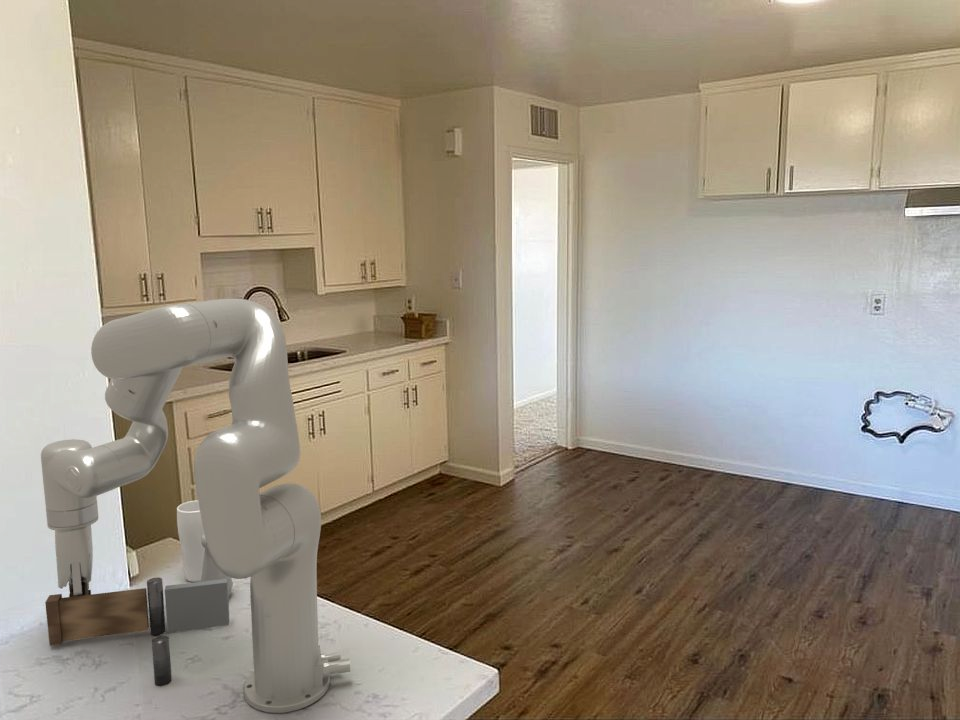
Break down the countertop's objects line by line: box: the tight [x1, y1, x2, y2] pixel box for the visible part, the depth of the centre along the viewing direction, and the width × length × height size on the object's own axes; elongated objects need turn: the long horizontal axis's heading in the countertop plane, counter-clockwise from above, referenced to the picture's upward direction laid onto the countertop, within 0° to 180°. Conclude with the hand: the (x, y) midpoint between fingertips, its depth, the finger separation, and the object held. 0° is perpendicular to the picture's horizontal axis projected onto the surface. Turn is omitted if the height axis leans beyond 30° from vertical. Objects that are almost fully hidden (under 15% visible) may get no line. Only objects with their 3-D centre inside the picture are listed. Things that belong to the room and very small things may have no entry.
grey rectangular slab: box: [164, 579, 230, 634], centre depth 126 cm, size 10×2×8 cm, turn 106°
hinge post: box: [146, 577, 167, 637], centre depth 124 cm, size 2×2×10 cm
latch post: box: [151, 634, 173, 687], centre depth 110 cm, size 2×2×7 cm
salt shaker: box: [200, 535, 234, 597], centre depth 136 cm, size 6×6×13 cm
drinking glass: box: [176, 499, 205, 583], centre depth 144 cm, size 7×7×15 cm
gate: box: [45, 587, 150, 647], centre depth 122 cm, size 15×2×8 cm, turn 106°
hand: (81, 614), depth 125 cm, fingers closed
